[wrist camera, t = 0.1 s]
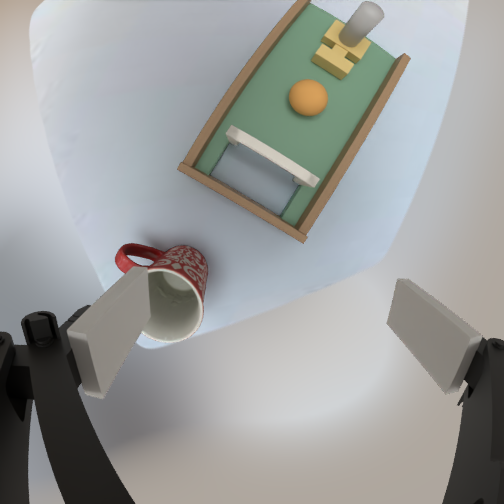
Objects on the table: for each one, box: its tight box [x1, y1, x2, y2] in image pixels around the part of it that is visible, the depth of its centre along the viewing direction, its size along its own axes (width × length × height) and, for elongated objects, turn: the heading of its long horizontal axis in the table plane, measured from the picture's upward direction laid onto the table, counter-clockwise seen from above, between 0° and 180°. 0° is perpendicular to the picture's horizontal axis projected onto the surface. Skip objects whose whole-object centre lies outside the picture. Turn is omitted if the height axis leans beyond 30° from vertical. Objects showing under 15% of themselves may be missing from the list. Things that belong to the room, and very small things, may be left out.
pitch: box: [177, 0, 411, 244], centre depth 33 cm, size 32×18×9 cm, turn 149°
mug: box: [115, 243, 208, 343], centre depth 36 cm, size 13×9×14 cm
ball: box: [289, 79, 328, 116], centre depth 33 cm, size 5×5×5 cm
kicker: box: [311, 1, 384, 80], centre depth 28 cm, size 8×6×11 cm
